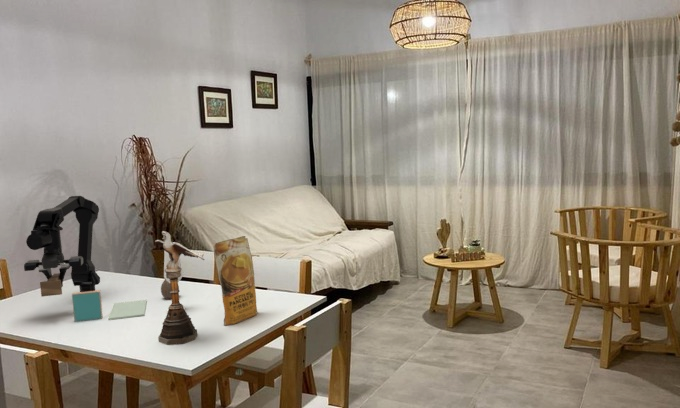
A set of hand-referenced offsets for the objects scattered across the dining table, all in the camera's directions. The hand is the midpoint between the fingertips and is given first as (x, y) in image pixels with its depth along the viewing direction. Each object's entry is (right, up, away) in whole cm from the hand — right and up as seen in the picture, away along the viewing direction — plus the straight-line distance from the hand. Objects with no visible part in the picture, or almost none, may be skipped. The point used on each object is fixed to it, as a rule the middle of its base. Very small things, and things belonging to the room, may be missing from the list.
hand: (56, 286), depth 204 cm
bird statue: (+54, -12, -26) cm, 61 cm away
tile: (+14, -11, -5) cm, 19 cm away
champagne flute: (+43, -9, +2) cm, 44 cm away
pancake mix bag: (+69, -10, -11) cm, 71 cm away
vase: (+36, -8, +19) cm, 41 cm away
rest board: (+25, -10, +4) cm, 27 cm away
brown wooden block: (+1, -1, -2) cm, 3 cm away
